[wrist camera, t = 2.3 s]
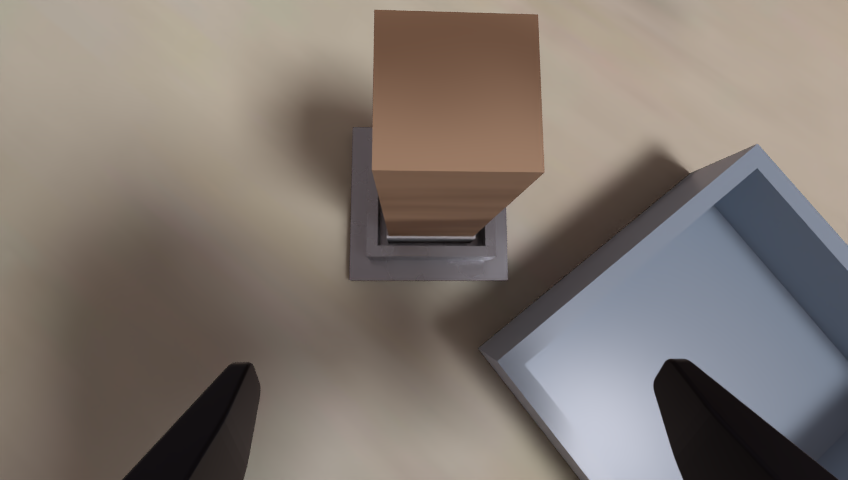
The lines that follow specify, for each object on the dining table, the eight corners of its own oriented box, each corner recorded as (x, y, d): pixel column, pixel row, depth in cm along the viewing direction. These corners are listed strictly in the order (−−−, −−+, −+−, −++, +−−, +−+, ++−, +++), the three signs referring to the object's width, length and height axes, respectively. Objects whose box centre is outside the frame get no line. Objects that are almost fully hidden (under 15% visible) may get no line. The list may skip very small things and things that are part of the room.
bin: (675, 602, 20) (751, 687, 16) (477, 348, 22) (496, 361, 17) (883, 397, 22) (1003, 421, 18) (690, 173, 23) (757, 143, 19)
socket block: (505, 280, 22) (518, 278, 20) (350, 280, 22) (343, 278, 19) (501, 134, 23) (513, 113, 21) (354, 131, 23) (347, 110, 20)
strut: (470, 243, 22) (548, 176, 10) (387, 242, 22) (367, 174, 10) (469, 163, 22) (541, 10, 10) (388, 162, 22) (370, 5, 10)
